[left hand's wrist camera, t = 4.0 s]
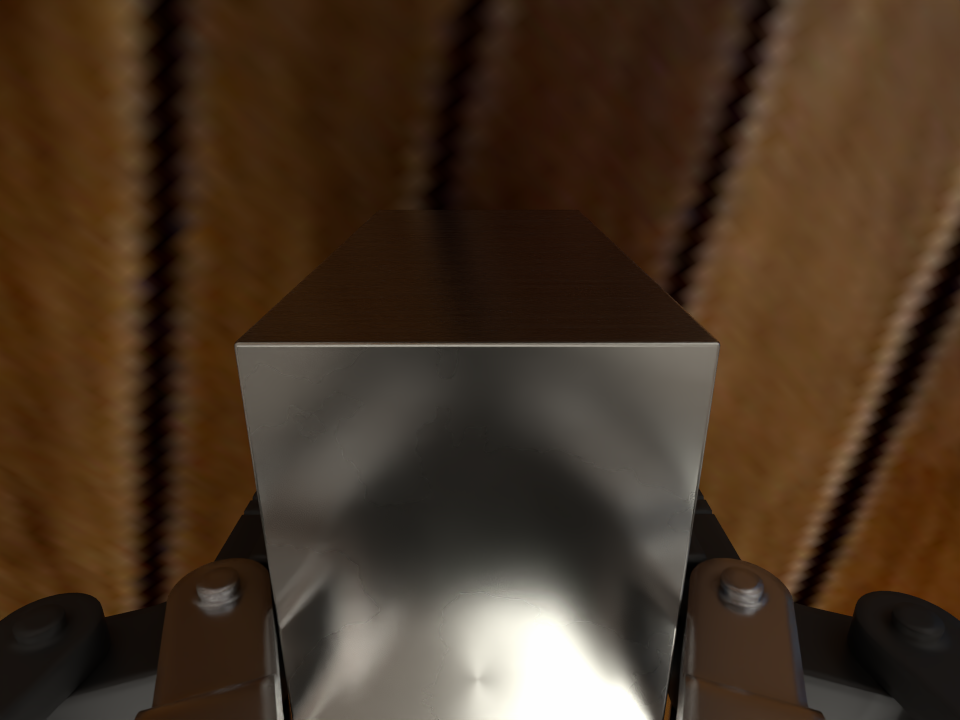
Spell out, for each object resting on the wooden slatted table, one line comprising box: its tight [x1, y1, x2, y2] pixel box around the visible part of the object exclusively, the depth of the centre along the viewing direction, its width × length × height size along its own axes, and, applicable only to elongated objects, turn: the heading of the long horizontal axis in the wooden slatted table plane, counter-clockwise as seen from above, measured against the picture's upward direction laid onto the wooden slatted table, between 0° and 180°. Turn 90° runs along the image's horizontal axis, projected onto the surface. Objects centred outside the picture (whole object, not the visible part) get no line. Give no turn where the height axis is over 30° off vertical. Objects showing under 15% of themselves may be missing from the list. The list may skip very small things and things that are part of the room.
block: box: [234, 210, 720, 720], centre depth 12 cm, size 5×9×10 cm, turn 0°
